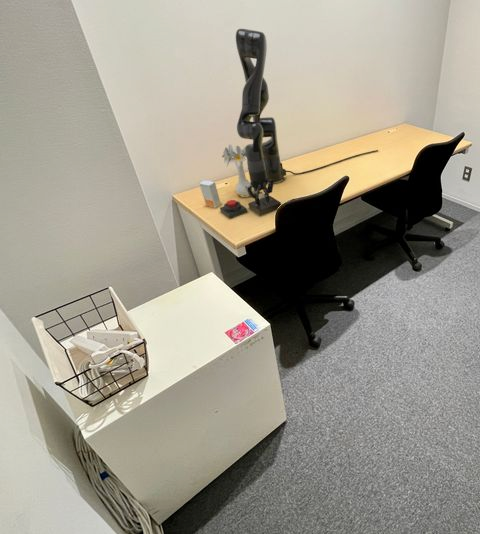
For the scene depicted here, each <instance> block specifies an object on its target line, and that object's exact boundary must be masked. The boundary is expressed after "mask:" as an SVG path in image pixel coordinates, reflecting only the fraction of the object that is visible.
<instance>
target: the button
mask: <svg viewBox="0 0 480 534" xmlns="http://www.w3.org/2000/svg"><path fill="white" fill-rule="evenodd" d="M236 201H237V200H235V199H230V200H227V201H226V203H227V206H228V207H235V206H237V202H236Z"/></svg>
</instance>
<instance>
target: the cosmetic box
mask: <svg viewBox="0 0 480 534" xmlns="http://www.w3.org/2000/svg"><path fill="white" fill-rule="evenodd" d="M198 184H199V187H200V191H201V194H202V197H203V201H204V204H205V206H207V207H211V208H215V209H217V208H218V207H219V206H221V204H222V203H221V199H220V196H219V193H218V189H217V185H216V182H215V181H212V180H206V179H204V180H202V181H201V182H199V183H198Z"/></svg>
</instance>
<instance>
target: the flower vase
mask: <svg viewBox="0 0 480 534" xmlns="http://www.w3.org/2000/svg"><path fill="white" fill-rule="evenodd" d="M245 147H246V146H243V148H241V147H240V146H239V145H236V146H235V148H234V147H233V145H232V144H231V143H230V144H228V147H226V146H225V148H224V149H223V150H222V151H223V154H222V156H221V158H224V159H223V163H224V164H226V168H228V166H229V164H230V163H231V164H234V163H235V166H236V170H237V176H238V182H237V184H236V185H235V187H234V188H235V193H237V194H238V195H239V196H240V197H241V198H248V197H250V195H249V193H248V192H247V190H246V188H245V187H246V186H249V185H250V183H251V181H249V180H248V179H247V176H246V173H245V169H244V163H243V162H245V161H247V157H246V152H245ZM251 191H252V192H253V193H254V188H253V187H252V190H251Z"/></svg>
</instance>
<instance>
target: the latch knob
mask: <svg viewBox="0 0 480 534" xmlns="http://www.w3.org/2000/svg"><path fill="white" fill-rule="evenodd" d="M259 199H260V201H261V202H262V203H264V204H265V205H268V204H269V201H268V196H267V195H266V194H265V193H264V191H260V194H259Z"/></svg>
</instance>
